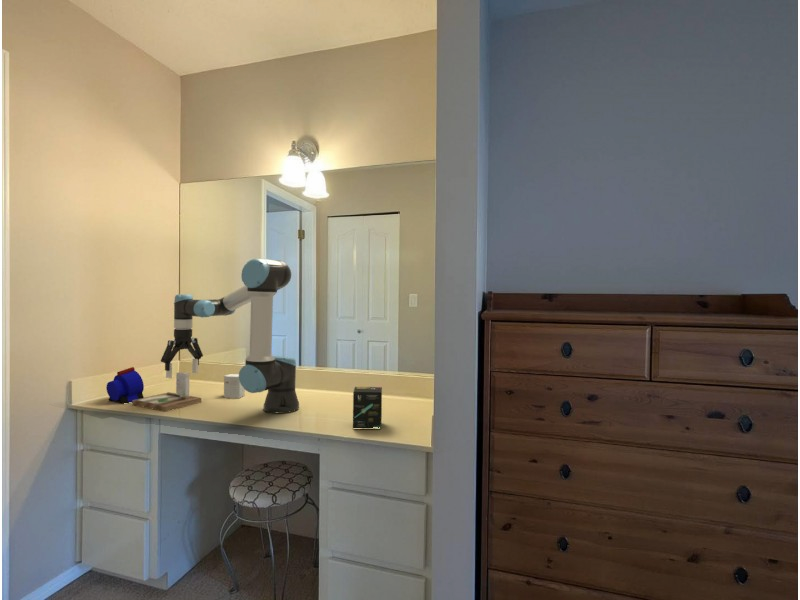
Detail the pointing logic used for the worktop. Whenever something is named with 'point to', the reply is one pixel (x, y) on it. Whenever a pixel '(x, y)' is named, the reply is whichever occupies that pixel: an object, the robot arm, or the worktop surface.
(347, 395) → the worktop surface
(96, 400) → the worktop surface
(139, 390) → the blue toy motor
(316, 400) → the worktop surface
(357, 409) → the tampon box
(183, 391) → the upright grey block
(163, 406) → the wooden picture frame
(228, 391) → the small box
